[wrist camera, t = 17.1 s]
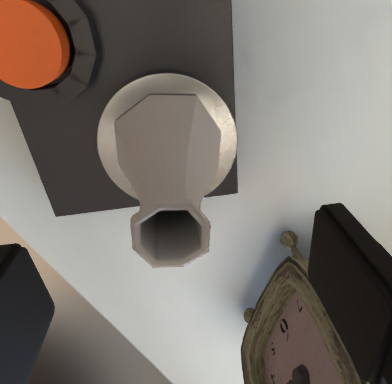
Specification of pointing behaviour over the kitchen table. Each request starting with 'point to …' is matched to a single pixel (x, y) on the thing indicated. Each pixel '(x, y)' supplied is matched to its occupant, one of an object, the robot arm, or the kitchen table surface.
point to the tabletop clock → (293, 332)
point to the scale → (116, 86)
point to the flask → (169, 175)
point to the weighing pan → (164, 86)
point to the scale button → (31, 44)
